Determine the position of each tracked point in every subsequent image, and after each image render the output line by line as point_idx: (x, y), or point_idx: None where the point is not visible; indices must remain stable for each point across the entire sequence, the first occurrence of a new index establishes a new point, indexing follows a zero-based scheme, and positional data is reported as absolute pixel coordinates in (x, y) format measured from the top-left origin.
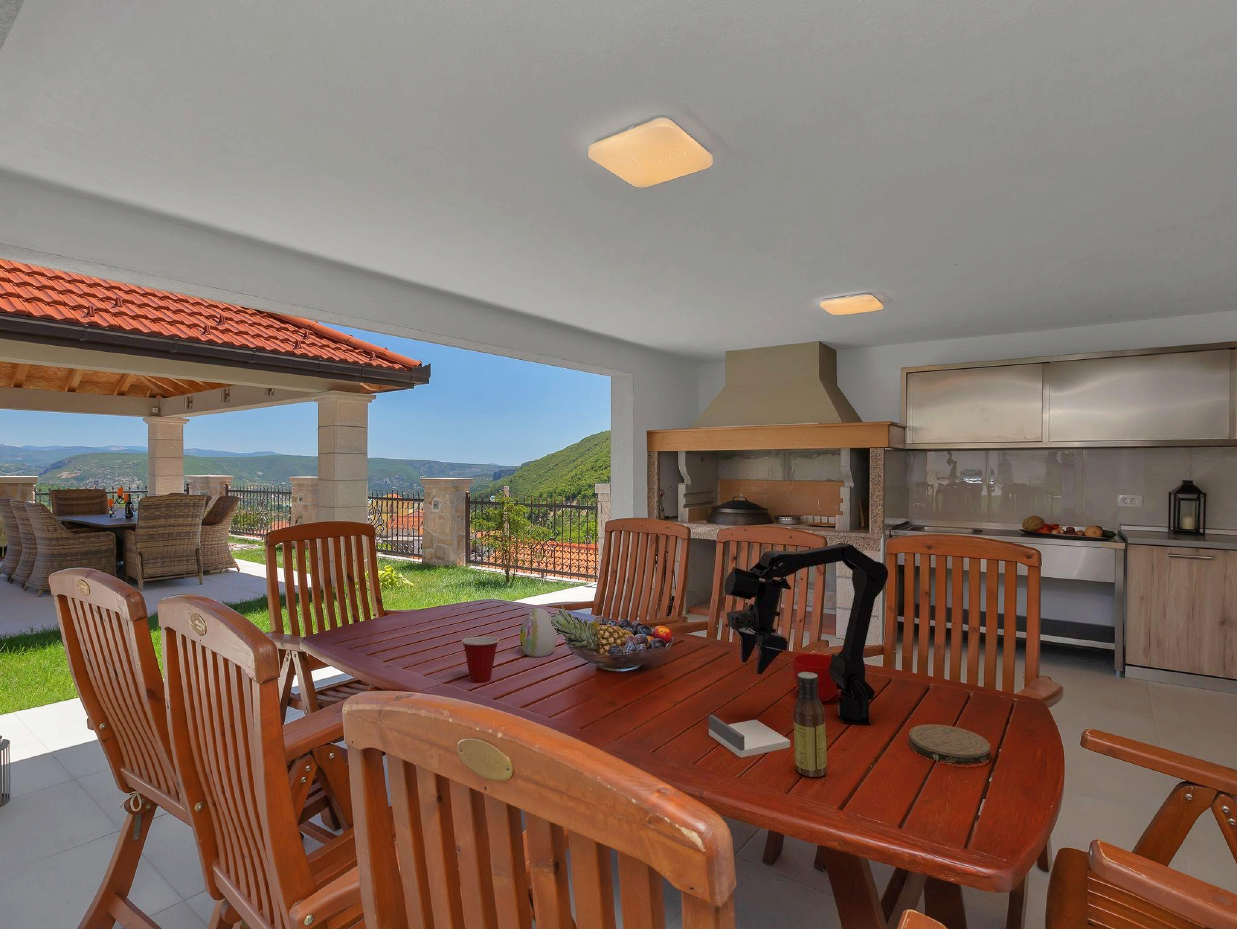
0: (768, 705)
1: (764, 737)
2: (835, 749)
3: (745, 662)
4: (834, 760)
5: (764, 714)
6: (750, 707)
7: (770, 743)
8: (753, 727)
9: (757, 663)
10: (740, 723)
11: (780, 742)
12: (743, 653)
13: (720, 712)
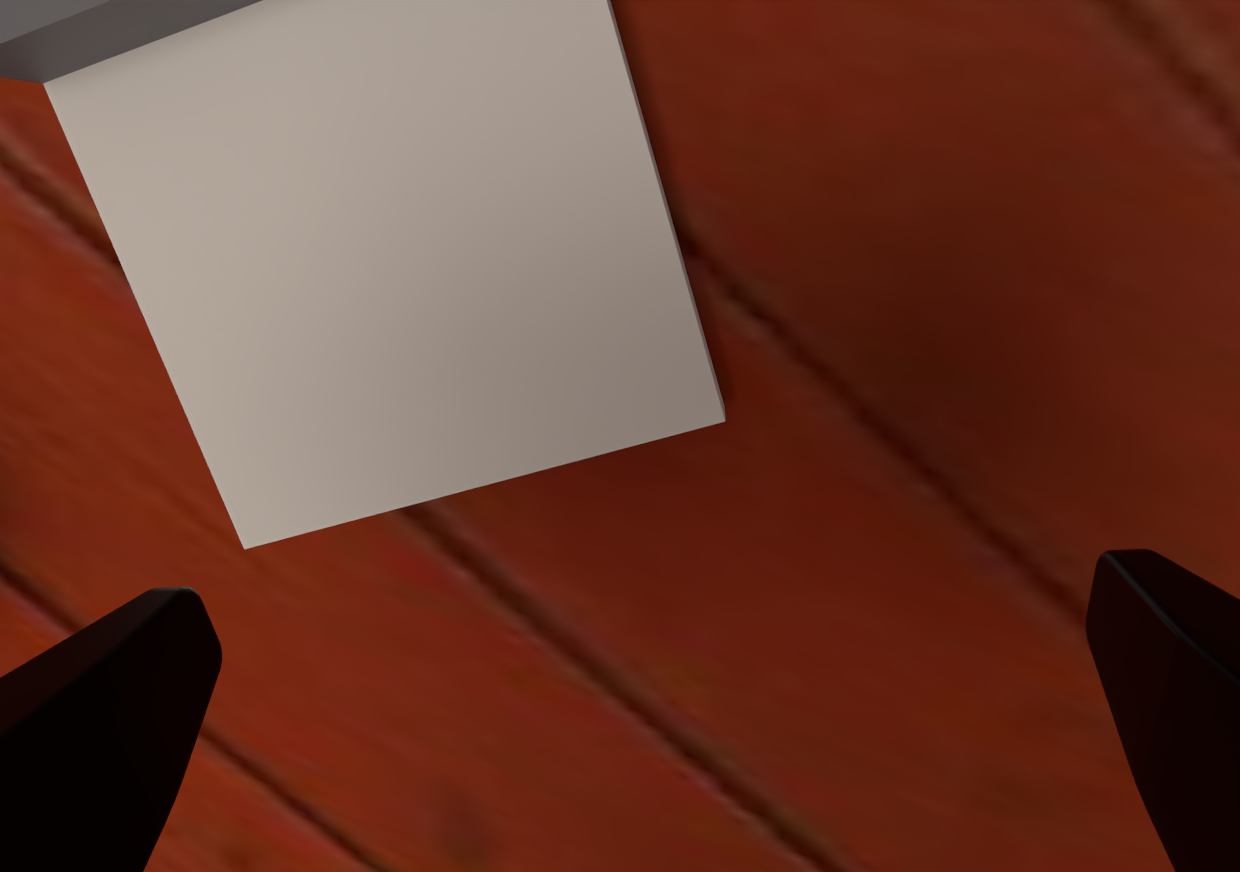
0: None
1: (307, 359)
2: (239, 813)
3: (1089, 620)
4: None
5: (975, 576)
6: (1188, 510)
7: (187, 368)
8: (533, 334)
9: (15, 723)
10: (646, 235)
11: (208, 459)
12: (1231, 704)
13: (1140, 151)
